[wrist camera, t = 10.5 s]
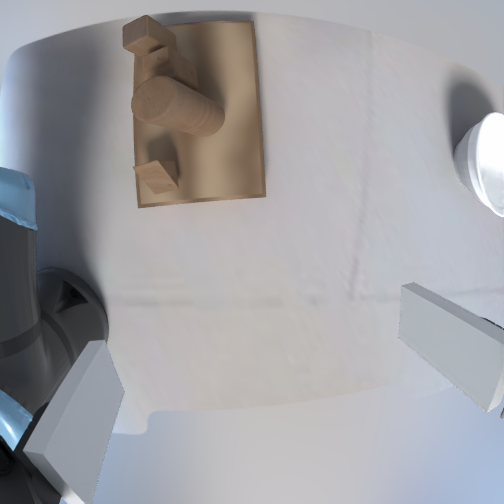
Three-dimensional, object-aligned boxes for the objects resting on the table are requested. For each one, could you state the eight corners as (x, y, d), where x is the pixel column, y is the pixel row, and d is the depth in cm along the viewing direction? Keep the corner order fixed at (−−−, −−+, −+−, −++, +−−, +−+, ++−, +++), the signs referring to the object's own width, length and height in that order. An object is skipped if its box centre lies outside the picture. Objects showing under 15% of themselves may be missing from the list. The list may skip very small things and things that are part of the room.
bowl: (428, 188, 39) (467, 191, 31) (446, 100, 37) (482, 91, 28) (484, 224, 42) (518, 232, 34) (499, 146, 40) (532, 145, 31)
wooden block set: (148, 53, 29) (92, 26, 20) (213, 28, 27) (167, -15, 17) (163, 193, 33) (100, 201, 23) (236, 179, 30) (187, 179, 20)
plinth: (144, 206, 35) (137, 208, 31) (141, 41, 30) (136, 29, 26) (261, 196, 36) (266, 197, 33) (250, 33, 32) (253, 20, 28)
